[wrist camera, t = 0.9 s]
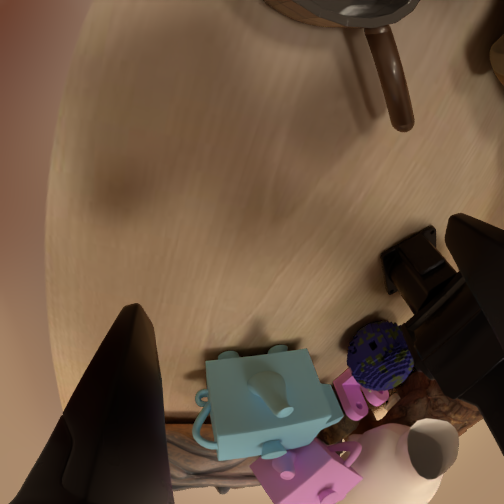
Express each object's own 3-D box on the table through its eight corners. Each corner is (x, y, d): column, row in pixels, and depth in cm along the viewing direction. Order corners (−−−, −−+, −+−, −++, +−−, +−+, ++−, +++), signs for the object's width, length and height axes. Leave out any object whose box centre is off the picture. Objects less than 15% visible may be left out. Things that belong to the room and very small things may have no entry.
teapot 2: (210, 458, 32) (240, 516, 23) (293, 383, 35) (344, 428, 26) (288, 496, 38) (320, 537, 29) (352, 437, 41) (394, 472, 32)
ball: (355, 357, 40) (402, 326, 38) (376, 404, 34) (428, 372, 32) (330, 338, 35) (385, 301, 33) (354, 393, 29) (417, 353, 27)
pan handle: (388, 131, 18) (402, 139, 17) (355, 21, 14) (369, 21, 12) (406, 123, 18) (421, 130, 17) (376, 16, 13) (392, 16, 12)
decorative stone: (329, 387, 47) (337, 373, 46) (366, 426, 40) (376, 412, 39) (277, 408, 42) (283, 393, 40) (314, 455, 35) (324, 442, 33)
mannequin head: (330, 442, 32) (302, 500, 46) (457, 511, 20) (381, 548, 33) (390, 367, 42) (350, 448, 55) (495, 419, 30) (422, 489, 43)
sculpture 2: (408, 368, 59) (454, 304, 47) (466, 412, 49) (524, 356, 37) (362, 429, 48) (415, 372, 36) (430, 480, 38) (504, 438, 26)
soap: (381, 407, 59) (386, 418, 57) (391, 393, 54) (397, 405, 52) (413, 394, 60) (418, 404, 58) (425, 380, 56) (431, 390, 54)
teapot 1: (190, 404, 39) (201, 481, 30) (177, 319, 28) (188, 437, 19) (303, 389, 42) (326, 459, 33) (339, 303, 31) (386, 398, 23)
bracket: (332, 381, 43) (348, 421, 38) (357, 360, 41) (377, 401, 35) (382, 382, 49) (398, 415, 44) (405, 363, 46) (422, 396, 41)
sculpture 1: (159, 488, 39) (310, 465, 49) (168, 508, 29) (351, 470, 39) (151, 423, 44) (303, 409, 55) (157, 425, 34) (341, 403, 45)
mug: (368, 397, 52) (386, 439, 45) (392, 394, 55) (410, 432, 48) (331, 425, 58) (345, 463, 51) (355, 422, 61) (369, 457, 54)
